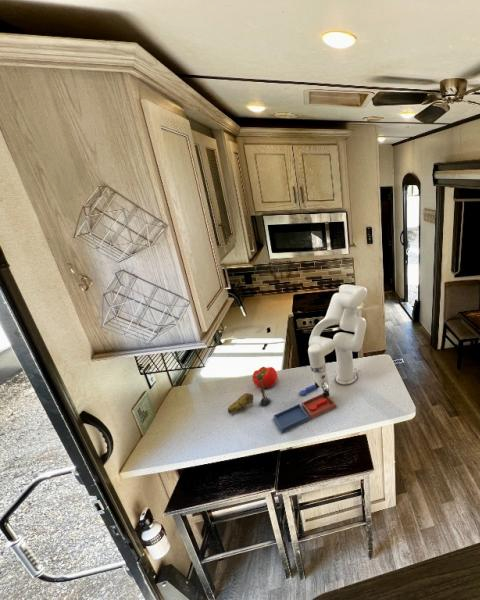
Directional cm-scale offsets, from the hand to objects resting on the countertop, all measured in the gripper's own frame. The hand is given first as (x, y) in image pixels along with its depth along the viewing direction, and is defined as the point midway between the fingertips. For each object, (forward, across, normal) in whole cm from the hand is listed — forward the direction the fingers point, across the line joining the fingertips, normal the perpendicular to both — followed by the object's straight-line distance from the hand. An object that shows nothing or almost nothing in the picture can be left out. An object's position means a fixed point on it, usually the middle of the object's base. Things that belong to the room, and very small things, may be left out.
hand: (322, 391), depth 179 cm
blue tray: (+7, -1, +19) cm, 20 cm away
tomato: (+8, +37, +20) cm, 43 cm away
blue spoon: (+8, +15, +3) cm, 18 cm away
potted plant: (+8, +21, +26) cm, 35 cm away
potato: (+7, +24, +37) cm, 45 cm away
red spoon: (+7, -1, +4) cm, 9 cm away
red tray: (+8, -1, +4) cm, 9 cm away
